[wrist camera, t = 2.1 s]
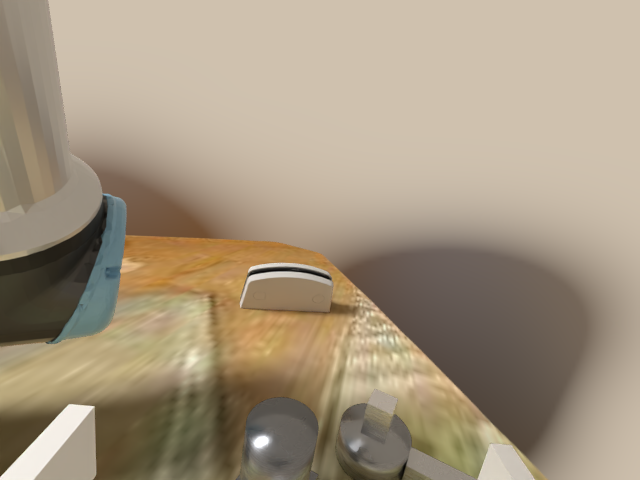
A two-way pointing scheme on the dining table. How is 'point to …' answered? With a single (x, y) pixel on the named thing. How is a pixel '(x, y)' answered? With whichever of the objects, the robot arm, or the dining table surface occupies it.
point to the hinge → (287, 288)
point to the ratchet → (384, 446)
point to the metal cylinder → (279, 441)
